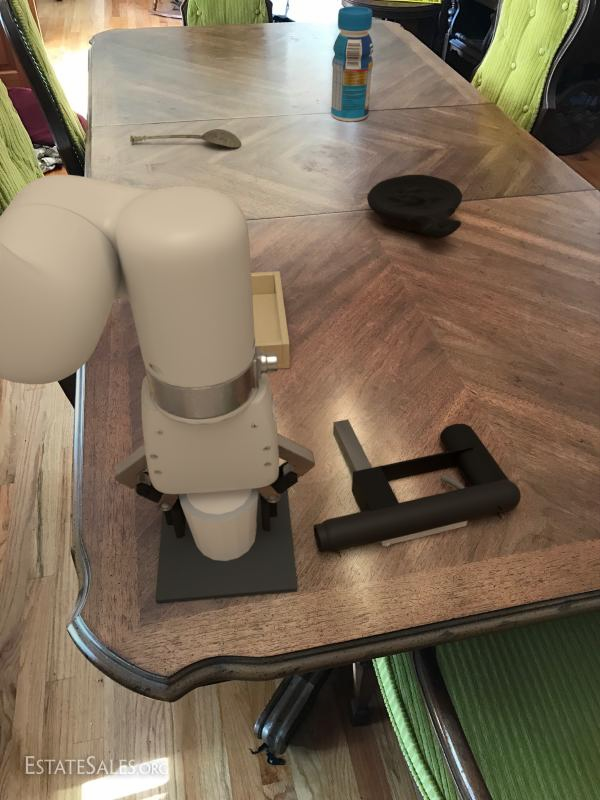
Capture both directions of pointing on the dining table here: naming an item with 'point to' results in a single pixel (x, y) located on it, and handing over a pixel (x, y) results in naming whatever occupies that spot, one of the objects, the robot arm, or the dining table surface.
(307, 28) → the dining table surface
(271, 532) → the mat
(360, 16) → the beverage bottle
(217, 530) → the shot glass
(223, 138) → the soupspoon
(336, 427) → the door handle
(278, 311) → the caddy
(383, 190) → the black cap
